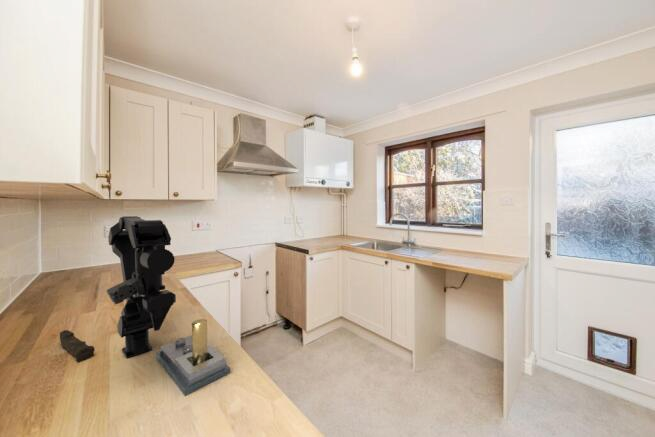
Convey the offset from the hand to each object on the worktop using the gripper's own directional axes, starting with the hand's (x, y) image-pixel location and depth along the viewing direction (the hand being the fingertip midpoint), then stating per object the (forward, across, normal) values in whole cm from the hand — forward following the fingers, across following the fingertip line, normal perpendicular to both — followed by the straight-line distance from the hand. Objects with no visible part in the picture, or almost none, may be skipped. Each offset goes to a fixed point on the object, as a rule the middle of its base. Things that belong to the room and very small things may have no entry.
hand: (150, 325), depth 67 cm
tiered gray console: (+12, +6, +8) cm, 15 cm away
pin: (+11, +12, +7) cm, 18 cm away
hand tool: (+12, -29, -12) cm, 33 cm away
